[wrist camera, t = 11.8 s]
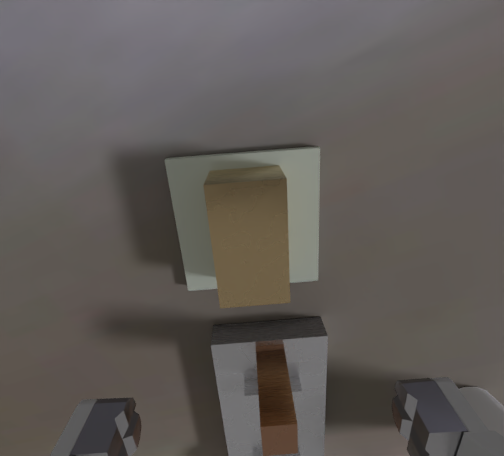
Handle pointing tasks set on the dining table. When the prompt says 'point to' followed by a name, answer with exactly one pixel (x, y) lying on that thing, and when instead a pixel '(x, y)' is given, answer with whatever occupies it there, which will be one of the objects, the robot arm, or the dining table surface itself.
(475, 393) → the foam cup
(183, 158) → the sage mat
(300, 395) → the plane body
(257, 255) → the tan upright box
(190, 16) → the dining table surface
